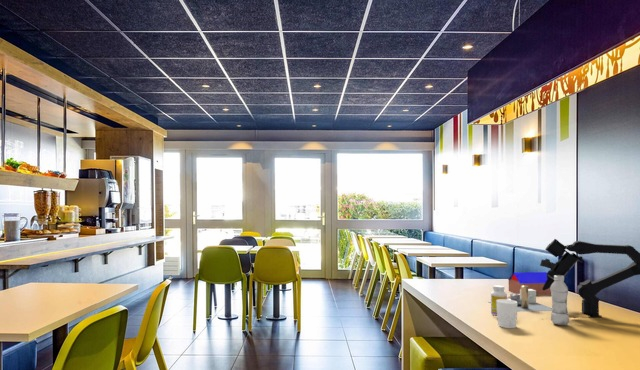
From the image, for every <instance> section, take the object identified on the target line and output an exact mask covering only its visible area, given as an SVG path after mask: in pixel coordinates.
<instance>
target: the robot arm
mask: <svg viewBox="0 0 640 370" xmlns="http://www.w3.org/2000/svg"><path fill="white" fill-rule="evenodd" d="M544 250H545V251H546V252H548V253H549V254H551V255H552V256H553V257H555V258H559V260H558V261H556V262H552V261H551V260H550V259H549V258H544V259H541V261H540V264H539V266H541V267H542V268H543V267H545V268H547V269H549V270H548V271H547V272H546V273H547V281H546V283H545V284H544V286H543V288H542V290H544V291H545V290H546V289H548V288H550V287H551V285H552V283H553V282H554V281H555V280H554V275H562V276H564V277H565V276H566V275H567V274H568V272H569V271H571V269H572V268H573V267H574V266H575V265H576V263H578V262H580V263H581V264H582V263H583V264H584V260H583V256H582V255H589V254H596V253H597V254H612V255H613V254H615V255H616V254H617V255H619V254H620V255H626V256H627V257H628V258H630V259H631V261H632V262H631V263H630V264H629V265H628V266H626V267H625V268H622V269H620V270H617V271H615V272H613V273H611V274H609V275H606V276H604V277H601V278H599V279H597V280H595V281H594V280H593V281H592V280H590V279H586V280H584V281H582V282H579V284H578V285H577V287H576V293H577V294H578V295H579V296H580V297H581V314H582V315H585V316H587V317H589V318H602V317H603V315H600V309H599V308H600V307H599V306H600V305H599V302H600V298H599V297H598V296H597V295H598V293H600V292H601V291H603V290H604V289H607V288H609V287H610V286H613V285H615V284H618V283H620V282H623V281H625V280H628V279H630V278H632V277H634V276H640V252H639V251H638V250H637V249H636V248H635V247H634V246H633V245H629V244H626V245H622V244H621V245H619V244H599V243H598V244H597V243H591V242H586V241H581V240H576V241H575V240H574V241H573V242H572V243H571V244H566V245H565V244H563V243H561V242H560V241H559V240H558V239H556V238H554V240H552V241H551V242H550V243H549V244H547V246H546V247H545V249H544ZM570 252H571V253H570ZM579 255H580V256H579Z"/></svg>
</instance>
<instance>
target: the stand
mask: <svg viewBox="0 0 640 370" xmlns="http://www.w3.org/2000/svg"><path fill="white" fill-rule="evenodd" d="M519 295H520V299H521V289H520V294H519ZM488 303H489V304H491V301H488ZM528 307H529V308H522V307H521V305H517V313H518V312H552V307H550V306H547V305H544V304H541V303H538V302H537V295H536V290H533V289H528Z"/></svg>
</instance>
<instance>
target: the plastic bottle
mask: <svg viewBox="0 0 640 370" xmlns="http://www.w3.org/2000/svg"><path fill="white" fill-rule="evenodd" d="M554 280H555V281H554V282H553V283H552V285H551V287H550V290H551V295H550V297H551V303H552V304H551V308H552V311H551V314H550V320H551V322H552V324H554V325H558V326H567V325H568V324H569V322H570V317H569V311H568V294H569V293H568V292H569V287H568V286H567V284H566V283H565V282H564V281H565V276H562V275H554Z"/></svg>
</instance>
